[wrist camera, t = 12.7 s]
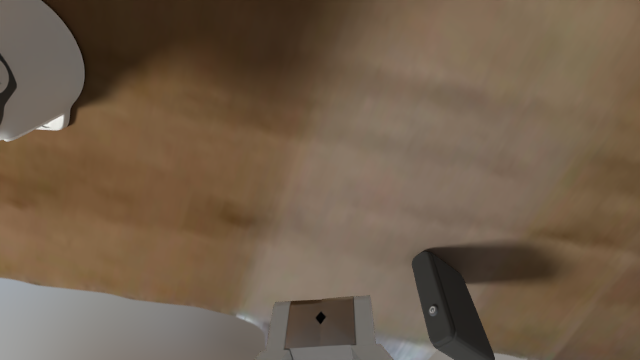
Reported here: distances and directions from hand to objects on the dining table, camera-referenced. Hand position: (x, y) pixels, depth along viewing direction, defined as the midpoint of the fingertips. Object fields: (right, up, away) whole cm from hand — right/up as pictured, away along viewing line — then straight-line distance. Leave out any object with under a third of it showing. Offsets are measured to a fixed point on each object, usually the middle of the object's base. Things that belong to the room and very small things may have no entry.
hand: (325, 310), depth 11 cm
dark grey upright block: (+18, -10, +46) cm, 51 cm away
